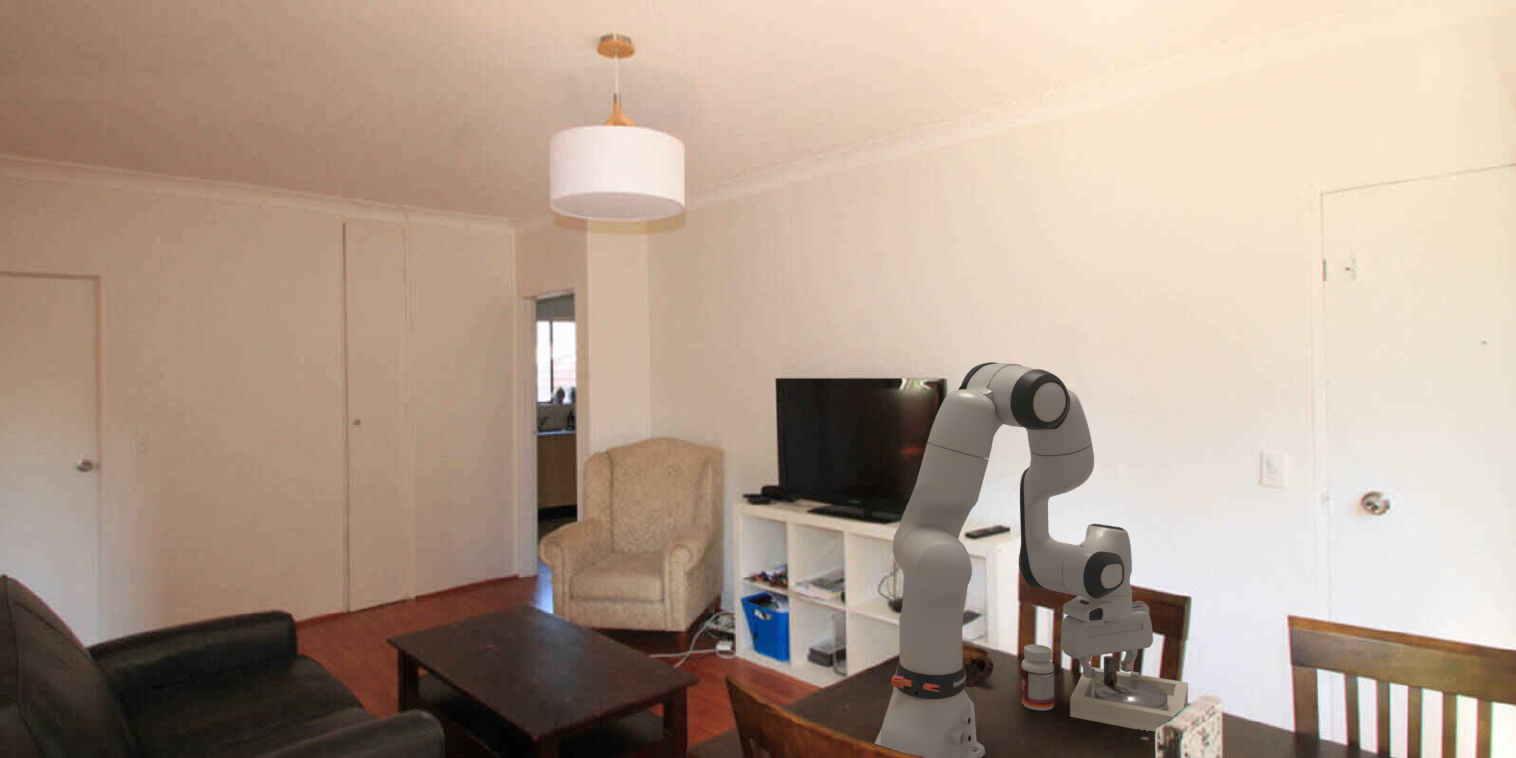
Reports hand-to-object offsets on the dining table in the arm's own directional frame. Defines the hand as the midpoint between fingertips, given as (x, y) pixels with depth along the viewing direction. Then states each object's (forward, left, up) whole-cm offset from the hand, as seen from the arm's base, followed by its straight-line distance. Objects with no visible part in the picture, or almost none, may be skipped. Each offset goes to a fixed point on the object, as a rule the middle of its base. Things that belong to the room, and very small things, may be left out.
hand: (1108, 673), depth 164 cm
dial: (-2, -4, -4) cm, 6 cm away
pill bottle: (-9, +12, -6) cm, 16 cm away
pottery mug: (-2, +27, -6) cm, 28 cm away
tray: (-2, -4, -5) cm, 7 cm away
